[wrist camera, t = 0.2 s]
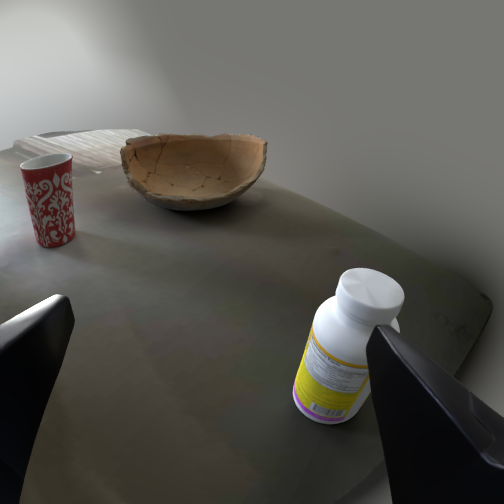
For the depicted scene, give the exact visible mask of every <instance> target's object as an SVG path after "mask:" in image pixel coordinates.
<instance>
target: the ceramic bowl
mask: <svg viewBox="0 0 504 504" xmlns="http://www.w3.org/2000/svg"><path fill="white" fill-rule="evenodd" d="M266 152H267V141H266V140H263V139H260V138H259V137H257V136H253V135H244V134H243V135H229V134H227V133H223V134H221V135H217V136H213V137H212V136H206V135H203V134H193V135H176V134H164V133H160V134H158V135H156V136H142V137H136V138H130V139H128V140H126V145H125V146H122V148H121V151H120V154H121V160H122V167H123V170H124V173H125V174H126V177H127V179H128V182H127V183H128V184H129V185H130V187H131V188H132V189H133V190H134V191H135V192H136V193H137V194H138V195H139V196H141V197H142V198H143V199H145V200H146V201H148V202H150V203H152V204H154V205H157V206H160V207H164V208H168V209H172V210H181V211H182V210H185V211H192V210H204V209H211V208H215V207H219V206H223V205H225V204H227V203H229V202H231V201H233V200H234V199H236V198H237V197H239V196H240V195H241V194H243V193H244V192H245V191H246V190H247V189H249V188H250V187H251V186H252V185H253V184H254V183H255V182H256V180H257V179H258V177H259V176H260V175H261V174H262V172H263V170H264V167H265V163H266Z"/></svg>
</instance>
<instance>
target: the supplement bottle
mask: <svg viewBox="0 0 504 504" xmlns="http://www.w3.org/2000/svg"><path fill="white" fill-rule="evenodd" d="M403 301H404V292H403V290H402V288H401V287H400V285H399V284H398V283H397V282H396V281H395V280H393V279H392V278H390V277H389V276H387V275H385V274H383V273H381V272H378V271H375V270H372V269H365V268H355V269H350V270H348V271H346V272H344V273H343V274H342V276H341V278H340V280H339V284H338V287H337V289H336V296H333V297H331V298H329V299H328V300H326V301H325V302H324V303H323V304H322V305H321V306H320V307H319V308H318V310H317V312H316V314H315V317H314V321H313V324H312V328H311V331H310V335H309V338H308V342H307V345H306V348H305V351H304V354H303V357H302V361H301V364H300V367H299V370H298V373H297V376H296V379H295V383H294V386H293V397H294V401H295V403H296V405H297V407H298V408H299V410H300V411H301V412H302V413H303V414H304V415H306V416H307V417H308V418H310V419H312V420H314V421H316V422H319V423H323V424H337V423H342V422H344V421H347V420H349V419H350V418H352V417H353V416H354V415H355V414H356V413H357V412H358V410H359V409H360V408H361V406H362V405H363V403H364V402H365V400H366V398H367V397H368V395H369V394H370V392H371V388H370V380H369V372H368V365H367V357H366V345H367V342H368V340H369V338H370V335H371V333H372V331H373V328H374V327H375V326H376V325H378V324H388V325H390V326H391V327H393V328H394V329H395V330H396V331H398V332H399V333H400V329H399V325H398V322H397V319H396V316H397V315H398V314H399V311H400V309H401V306H402V304H403Z"/></svg>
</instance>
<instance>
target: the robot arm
mask: <svg viewBox="0 0 504 504" xmlns="http://www.w3.org/2000/svg"><path fill="white" fill-rule="evenodd" d="M74 323H75V319H74V314H73V311H72V307H71V304H70V300H69V298H68V297H67V296H64V295H58V294H56V295H54V296H52V297H50V298H48V299H46V300H44V301H43V302H41V303H39V304H37V305H35V306H33V307H32V308H30V309H28V310H26V311H24V312H22V313H21V314H19V315H17V316H15V317H14V318H12V319H10V320H8V321H7V322H5V323H3V324H1V325H0V504H19V501H20V496H21V492H22V487H23V483H24V478H25V474H26V470H27V466H28V463H29V459H30V455H31V452H32V448H33V445H34V442H35V438H36V435H37V432H38V429H39V426H40V423H41V420H42V417H43V414H44V411H45V408H46V405H47V403H48V400H49V397H50V394H51V392H52V389H53V386H54V384H55V381H56V379H57V376H58V374H59V371H60V368H61V366H62V362H63V359H64V356H65V353H66V349H67V346H68V343H69V340H70V336H71V333H72V330H73V327H74ZM366 357H367V365H368V372H369V380H370V388H371V395H372V400H373V404H374V409H375V413H376V417H377V422H378V427H379V431H380V436H381V441H382V446H383V451H384V456H385V461H386V467H387V472H388V477H389V484H390V490H391V496H392V503H393V504H504V417H502V416H501V415H499V414H498V413H497V412H495V411H494V410H493V409H491V408H490V407H489V406H487V405H486V404H485V403H484V402H483V401H481V400H480V399H479V398H478V397H476V396H475V395H474V394H473V393H472V392H469V390H468V389H467V388H466V387H465V386H464V385H462V384H461V383H460V382H459V381H458V380H456V379H455V378H454V377H453V376H452V375H450V374H449V373H448V372H447V371H446V370H444V369H443V368H442V367H441V366H439V365H438V364H437V363H436V362H435V361H433V360H432V359H431V358H430V357H429V356H427V355H426V354H425V353H424V352H422V351H421V350H420V349H419V348H417V347H416V346H415V345H414V344H413V343H411V342H410V341H409V340H408V339H406V338H405V337H404V336H403V335H401V334H400V333H399V332H398V331H396V330H395V329H394V328H393V327H391V326H390V325H388V324H378V325H376V326H375V327H374V328H373V331H372V333H371V335H370V338H369V340H368V342H367V345H366Z"/></svg>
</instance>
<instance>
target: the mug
mask: <svg viewBox="0 0 504 504" xmlns="http://www.w3.org/2000/svg"><path fill="white" fill-rule="evenodd" d="M72 158H73V156H72V155H71V154H68V153H54V154H48V155H43V156H39V157H36V158H33V159H30V160H28V161H26V162H24V163H22V164H21V166H20V169H21V171H22V176H23V181H24V187H25V192H26V197H27V201H28V206H29V211H30V215H31V219H32V223H33V227H34V231H35V235H36V239H37V242H38V244H39V245H41V246H43V247H57V246H60V245H63V244H66V243H68V242H69V241H71V240H72V239H73V238H74V236H75V222H74V211H73V195H72Z"/></svg>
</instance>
